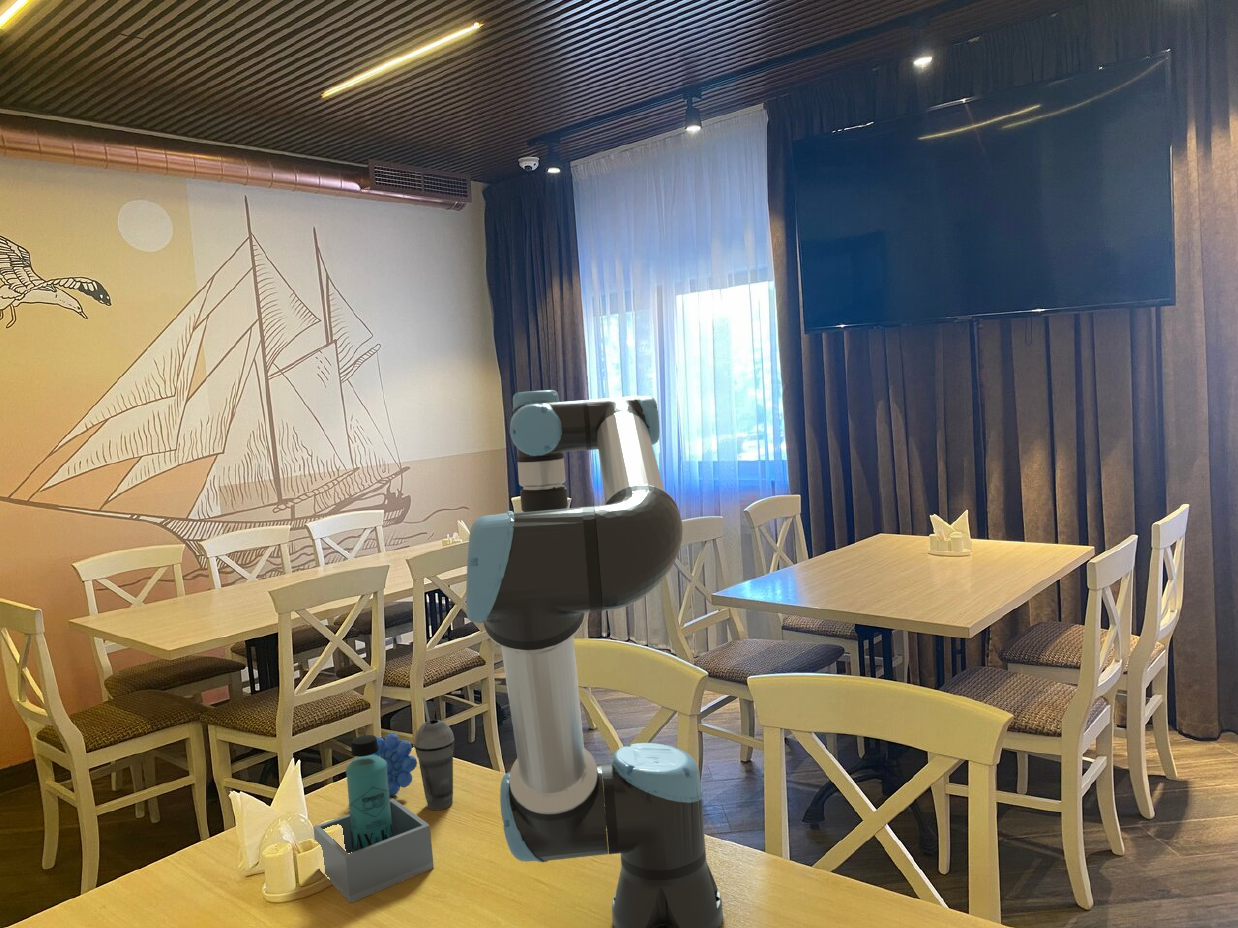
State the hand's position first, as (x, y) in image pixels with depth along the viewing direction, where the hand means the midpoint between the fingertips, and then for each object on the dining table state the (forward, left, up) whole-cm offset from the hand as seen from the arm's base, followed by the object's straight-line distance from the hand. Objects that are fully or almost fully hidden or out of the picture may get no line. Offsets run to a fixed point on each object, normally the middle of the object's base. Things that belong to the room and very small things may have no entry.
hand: (553, 615), depth 148 cm
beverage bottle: (+13, +29, -36) cm, 48 cm away
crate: (+13, +29, -37) cm, 48 cm away
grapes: (+37, +15, -37) cm, 54 cm away
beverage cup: (+26, +11, -37) cm, 46 cm away
